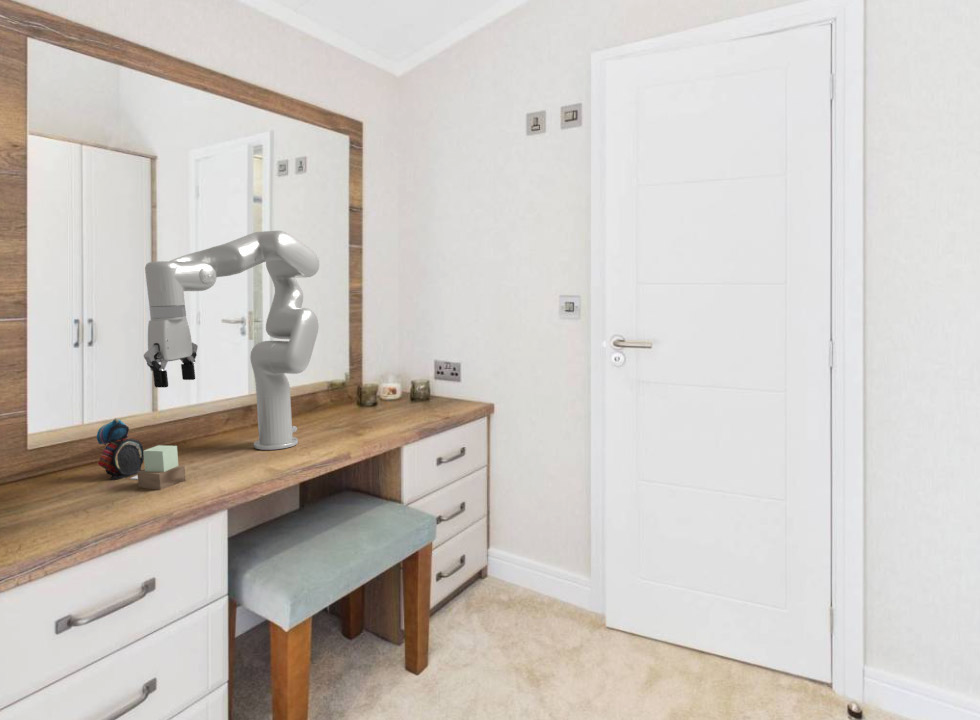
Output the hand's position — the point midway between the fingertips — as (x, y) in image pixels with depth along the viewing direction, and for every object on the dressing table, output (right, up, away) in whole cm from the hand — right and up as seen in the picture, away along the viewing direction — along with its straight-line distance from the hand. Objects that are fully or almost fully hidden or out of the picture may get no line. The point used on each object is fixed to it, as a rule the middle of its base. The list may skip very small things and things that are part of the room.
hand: (175, 383), depth 140 cm
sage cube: (-2, -21, -2) cm, 21 cm away
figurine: (-17, -24, +6) cm, 30 cm away
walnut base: (-2, -25, -2) cm, 25 cm away
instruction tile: (-9, -24, +5) cm, 26 cm away
